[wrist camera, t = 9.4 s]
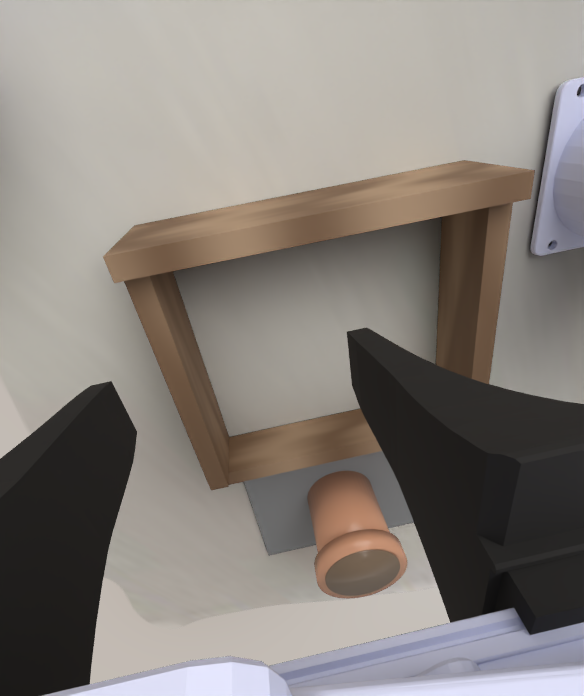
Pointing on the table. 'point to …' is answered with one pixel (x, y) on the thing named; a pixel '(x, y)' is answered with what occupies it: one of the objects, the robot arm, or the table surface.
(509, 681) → the robot arm
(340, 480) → the terracotta pot
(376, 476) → the slate mat
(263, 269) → the table surface
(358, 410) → the frame
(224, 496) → the table surface
